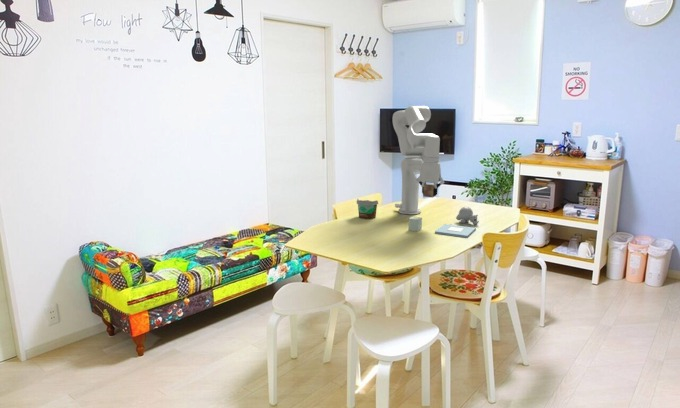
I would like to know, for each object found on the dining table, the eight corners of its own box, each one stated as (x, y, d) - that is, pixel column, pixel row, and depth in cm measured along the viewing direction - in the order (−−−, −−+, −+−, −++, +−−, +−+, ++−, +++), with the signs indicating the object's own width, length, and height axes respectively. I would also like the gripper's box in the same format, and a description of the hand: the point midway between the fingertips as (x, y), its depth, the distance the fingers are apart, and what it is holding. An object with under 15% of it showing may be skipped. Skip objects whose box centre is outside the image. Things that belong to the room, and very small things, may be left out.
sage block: (408, 230, 252) (408, 218, 250) (412, 227, 256) (412, 216, 255) (418, 231, 249) (418, 219, 248) (421, 229, 254) (421, 217, 252)
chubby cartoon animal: (471, 231, 260) (477, 217, 256) (453, 218, 267) (459, 205, 263) (478, 228, 264) (484, 215, 260) (461, 216, 271) (466, 203, 267)
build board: (434, 233, 246) (435, 230, 246) (444, 225, 259) (444, 223, 259) (467, 237, 238) (467, 235, 238) (475, 229, 252) (475, 227, 252)
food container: (353, 218, 275) (353, 200, 273) (357, 215, 280) (357, 198, 278) (374, 220, 270) (374, 202, 268) (378, 218, 276) (378, 200, 274)
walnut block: (423, 196, 258) (423, 185, 256) (426, 194, 262) (426, 183, 261) (432, 197, 255) (433, 186, 254) (435, 195, 260) (436, 184, 258)
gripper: (412, 159, 255) (411, 194, 259) (445, 162, 247) (443, 198, 251) (417, 157, 261) (416, 191, 266) (449, 160, 254) (447, 195, 258)
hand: (429, 194), depth 259 cm, fingers closed on walnut block, 5 cm apart
